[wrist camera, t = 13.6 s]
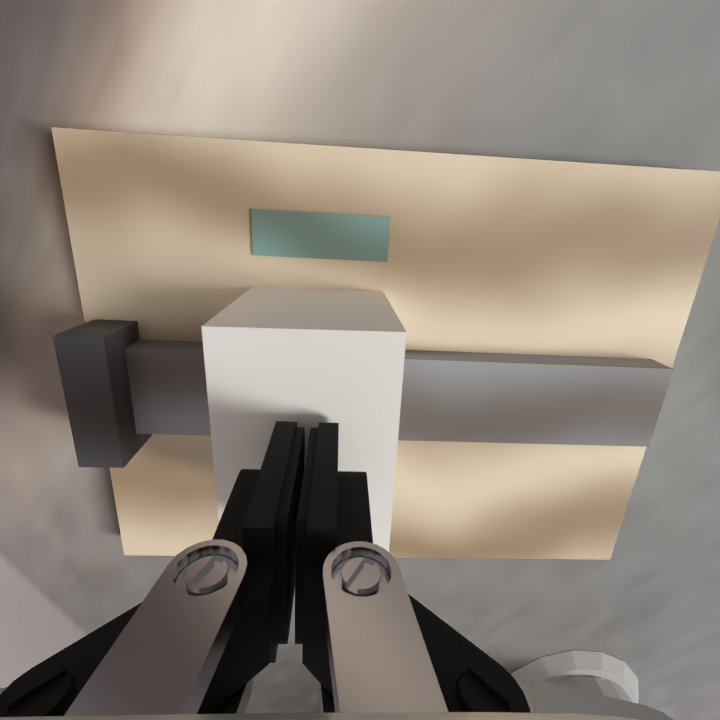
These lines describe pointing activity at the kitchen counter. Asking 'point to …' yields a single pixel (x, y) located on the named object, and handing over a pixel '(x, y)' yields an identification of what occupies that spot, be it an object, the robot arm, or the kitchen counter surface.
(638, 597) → the kitchen counter surface
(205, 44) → the kitchen counter surface
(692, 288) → the din panel
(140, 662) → the robot arm
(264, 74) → the kitchen counter surface
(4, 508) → the kitchen counter surface
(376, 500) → the block
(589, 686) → the french press
